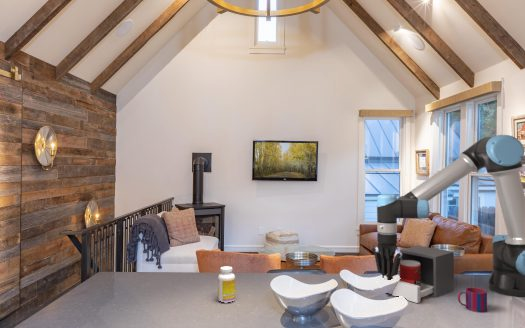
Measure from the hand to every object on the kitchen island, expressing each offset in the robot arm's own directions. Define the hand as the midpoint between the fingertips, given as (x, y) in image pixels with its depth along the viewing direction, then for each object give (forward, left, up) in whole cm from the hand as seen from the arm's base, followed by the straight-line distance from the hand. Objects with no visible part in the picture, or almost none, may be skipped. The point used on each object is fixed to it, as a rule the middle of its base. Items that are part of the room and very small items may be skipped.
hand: (387, 291), depth 150 cm
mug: (-26, -13, -2) cm, 29 cm away
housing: (-4, -21, -2) cm, 22 cm away
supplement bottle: (+35, +54, -2) cm, 64 cm away
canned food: (-4, -9, 0) cm, 10 cm away
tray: (-4, -9, -1) cm, 10 cm away
